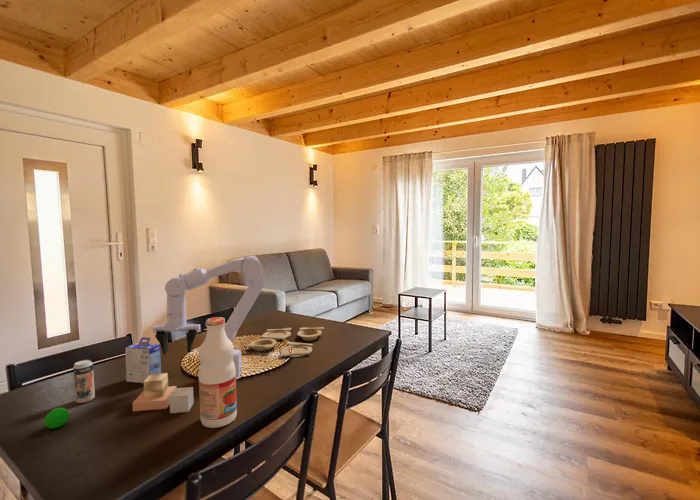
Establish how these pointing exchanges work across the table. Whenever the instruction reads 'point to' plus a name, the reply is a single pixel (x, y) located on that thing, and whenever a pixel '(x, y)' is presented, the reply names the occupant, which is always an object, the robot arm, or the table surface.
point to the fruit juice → (217, 376)
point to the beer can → (83, 381)
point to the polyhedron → (57, 418)
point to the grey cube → (181, 400)
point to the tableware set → (298, 348)
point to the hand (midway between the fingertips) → (177, 352)
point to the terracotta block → (153, 401)
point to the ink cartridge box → (142, 361)
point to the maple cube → (156, 385)
